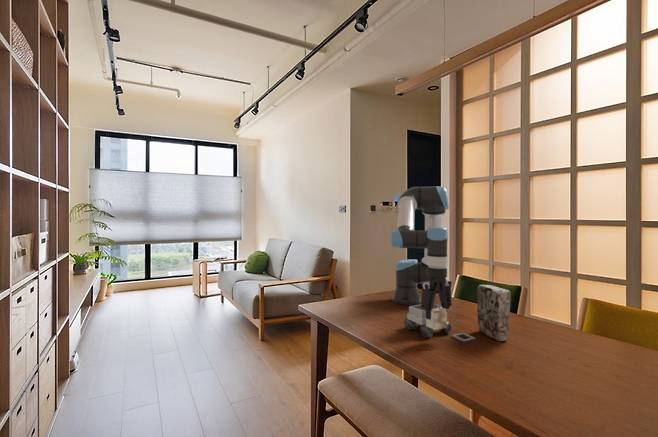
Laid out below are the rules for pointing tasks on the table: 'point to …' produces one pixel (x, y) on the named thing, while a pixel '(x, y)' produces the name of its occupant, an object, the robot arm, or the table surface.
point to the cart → (422, 320)
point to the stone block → (493, 311)
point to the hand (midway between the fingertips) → (436, 325)
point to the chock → (439, 319)
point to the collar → (463, 339)
